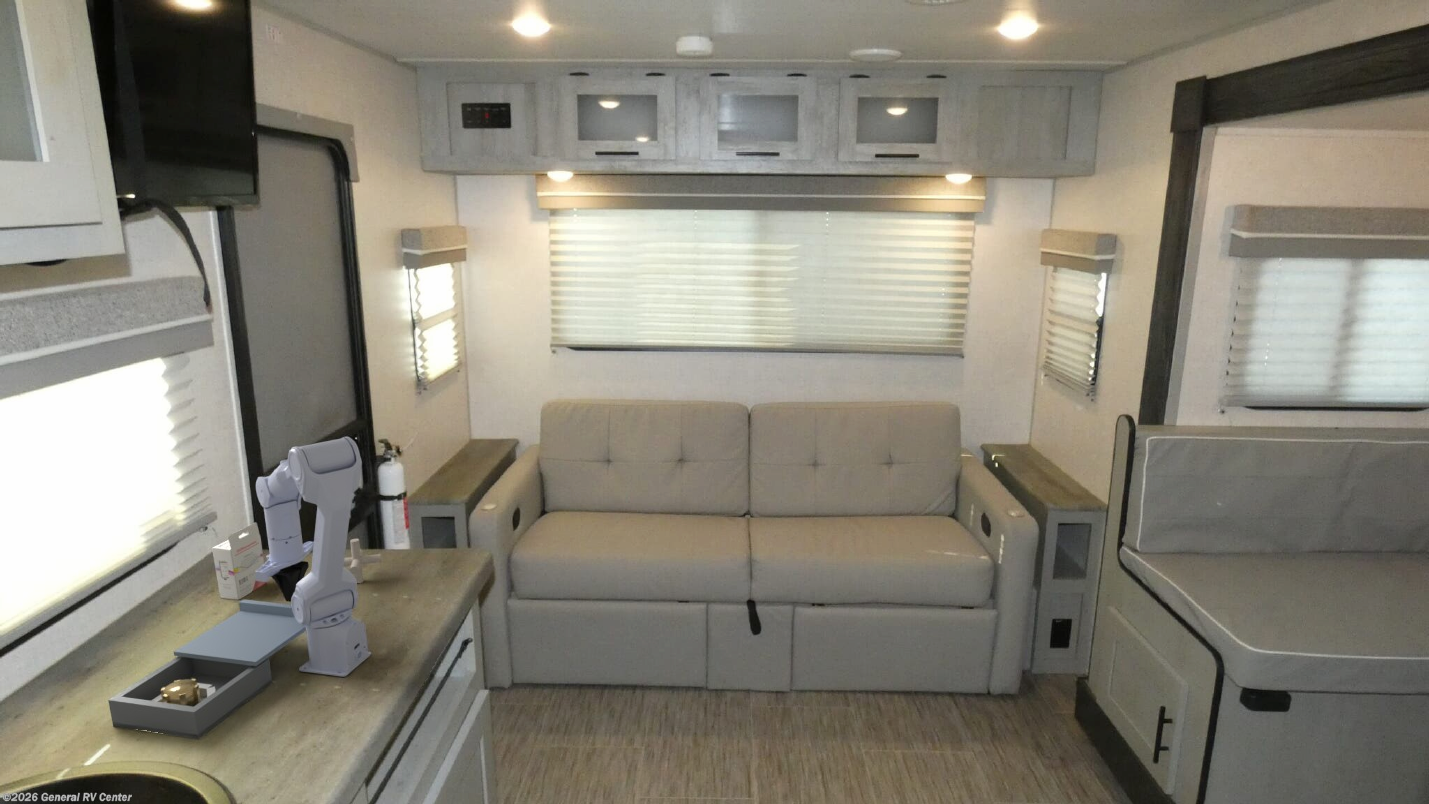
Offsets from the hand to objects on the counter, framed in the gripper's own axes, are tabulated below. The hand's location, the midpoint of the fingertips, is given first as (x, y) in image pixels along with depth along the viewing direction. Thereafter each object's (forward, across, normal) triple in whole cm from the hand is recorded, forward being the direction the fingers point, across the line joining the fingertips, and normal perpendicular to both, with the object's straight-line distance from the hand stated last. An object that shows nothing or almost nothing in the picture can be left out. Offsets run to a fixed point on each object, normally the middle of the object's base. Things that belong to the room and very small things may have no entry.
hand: (292, 600), depth 157 cm
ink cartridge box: (+7, -14, -24) cm, 29 cm away
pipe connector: (+7, -23, -2) cm, 24 cm away
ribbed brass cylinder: (+6, +27, 0) cm, 28 cm away
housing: (+7, +24, 0) cm, 25 cm away
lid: (+2, +11, 0) cm, 11 cm away
